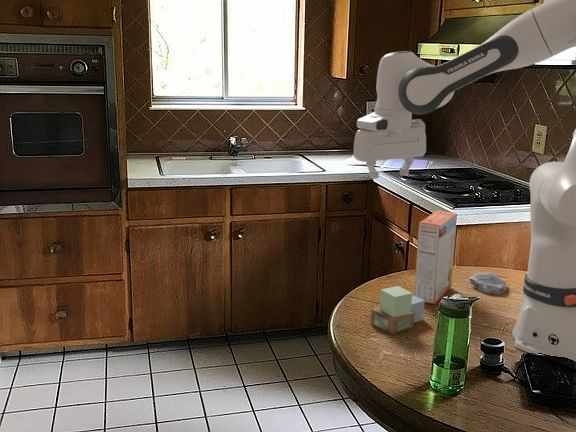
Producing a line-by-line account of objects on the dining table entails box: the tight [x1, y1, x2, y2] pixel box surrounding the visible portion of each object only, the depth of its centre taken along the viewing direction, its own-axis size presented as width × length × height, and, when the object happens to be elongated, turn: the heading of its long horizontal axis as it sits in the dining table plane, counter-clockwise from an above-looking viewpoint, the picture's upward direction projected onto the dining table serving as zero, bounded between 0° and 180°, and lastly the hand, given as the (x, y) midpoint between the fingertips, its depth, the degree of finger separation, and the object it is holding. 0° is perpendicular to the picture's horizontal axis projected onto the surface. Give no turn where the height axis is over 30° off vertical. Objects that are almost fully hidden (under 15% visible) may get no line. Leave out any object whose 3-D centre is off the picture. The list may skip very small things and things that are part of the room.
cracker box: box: [413, 210, 458, 305], centre depth 167 cm, size 14×6×21 cm, turn 149°
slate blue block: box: [411, 294, 425, 324], centre depth 154 cm, size 5×5×5 cm
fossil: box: [468, 271, 508, 295], centre depth 175 cm, size 11×4×10 cm
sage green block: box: [379, 285, 413, 318], centre depth 148 cm, size 5×5×5 cm
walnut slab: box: [369, 305, 415, 336], centre depth 150 cm, size 7×7×4 cm
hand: (389, 176), depth 160 cm, fingers open, 8 cm apart
